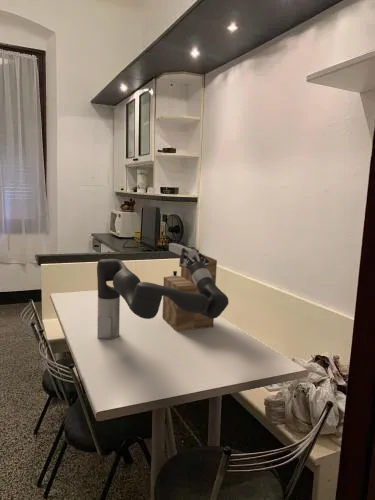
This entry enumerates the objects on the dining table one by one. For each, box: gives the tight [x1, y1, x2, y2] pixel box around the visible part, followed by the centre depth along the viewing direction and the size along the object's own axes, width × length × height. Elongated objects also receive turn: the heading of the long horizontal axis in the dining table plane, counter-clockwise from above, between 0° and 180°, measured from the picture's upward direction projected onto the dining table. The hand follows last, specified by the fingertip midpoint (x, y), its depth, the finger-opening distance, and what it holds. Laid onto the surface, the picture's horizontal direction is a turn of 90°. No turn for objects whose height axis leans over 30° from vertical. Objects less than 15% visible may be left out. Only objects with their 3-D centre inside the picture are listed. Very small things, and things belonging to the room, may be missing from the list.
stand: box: [161, 248, 218, 332], centre depth 186 cm, size 18×19×34 cm
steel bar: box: [168, 242, 198, 258], centre depth 177 cm, size 24×4×4 cm, turn 23°
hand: (187, 249), depth 171 cm, fingers closed on steel bar, 3 cm apart
